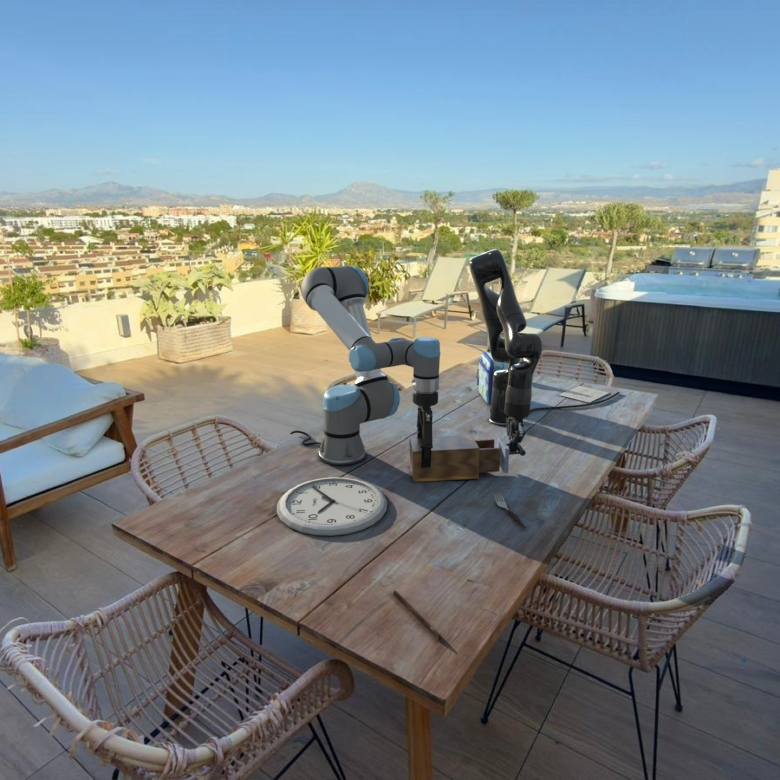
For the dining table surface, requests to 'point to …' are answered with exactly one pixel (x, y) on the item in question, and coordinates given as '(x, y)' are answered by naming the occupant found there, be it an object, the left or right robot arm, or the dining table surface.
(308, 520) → the wall clock
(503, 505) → the fork
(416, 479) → the cabinet
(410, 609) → the dark brown thin rod
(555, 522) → the dining table surface
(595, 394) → the invitation card
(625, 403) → the dining table surface
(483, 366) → the lunch box
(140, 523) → the dining table surface
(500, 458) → the drawer
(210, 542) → the dining table surface
